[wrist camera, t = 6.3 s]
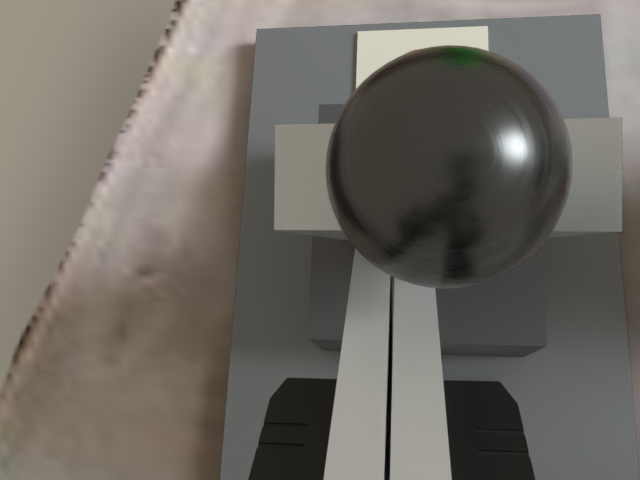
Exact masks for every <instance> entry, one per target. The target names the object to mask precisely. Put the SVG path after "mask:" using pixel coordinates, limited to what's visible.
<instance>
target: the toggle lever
mask: <svg viewBox="0 0 640 480" xmlns="http://www.w3.org/2000/svg"><path fill="white" fill-rule="evenodd" d="M274 230H278V231H285V232H292V233H299V234H306V235H312V236H319V237H326V238H333V239H340V240H349V241H350V242H351V244H352V245H353V246H354V247H355V248H356V249H357V250H358V252H359V253H360V254H361V255H362V256H364V257H365V258H366V259H367V260H368V261H369V262H370V263H372V264H373V265H374V266H376V267H377V268H379V269H380V270H382V271H383V272H385V273H387V274H389V275H391V276H393V277H395V278H397V279H399V280H402V281H405V282H408V283H411V284H414V285H419V286H424V287H429V288H441V289H448V288H463V287H469V286H474V285H478V284H482V283H485V282H488V281H491V280H494V279H496V278H498V277H500V276H502V275H505V274H507V273H508V272H510V271H512V270H513V269H515V268H516V267H518V266H520V265H521V264H522V263H523V262H525V261H526V260H527V259H528V258H530V257H531V256H532V255H533V254H534V253H535V252H536V251H537V250H538V249H539V248H540V247H541V246H542V244H543V243H544V242H545V241H546V240H547V238H552V237H564V236H576V235H588V234H600V233H611V232H622V118H582V119H564V118H563V116H562V114H561V112H560V110H559V108H558V106H557V104H556V102H555V101H554V100H553V98H552V97H551V95H550V94H549V93H548V91H547V90H546V89H545V88H544V86H543V85H542V84H541V83H540V82H539V81H538V80H537V79H536V78H535V77H534V76H533V75H531V74H530V73H529V72H528V71H526V70H525V69H524V68H523V67H521V66H519V65H518V64H516V63H514V62H513V61H511V60H510V59H508V58H505V57H503V56H501V55H498V54H496V53H494V52H490V51H487V50H483V49H480V48H475V47H468V46H456V45H444V46H435V47H428V48H424V49H420V50H415V51H413V52H410V53H407V54H404V55H402V56H399V57H398V58H396V59H394V60H392V61H390V62H388V63H386V64H385V65H383V66H382V67H380V68H379V69H377V70H376V71H374V72H373V73H372V74H371V75H370V76H369V77H367V78H366V79H365V80H364V81H363V82H362V83H361V84H360V85H359V86H358V87H357V89H356V90H355V91H354V92H353V93H352V94H351V96H350V97H349V99H348V100H347V102H346V103H345V105H344V106H343V108H342V110H341V112H340V114H339V116H338V118H337V120H336V122H335V124H287V125H275V192H274Z"/></svg>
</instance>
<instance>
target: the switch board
mask: <svg viewBox="0 0 640 480" xmlns="http://www.w3.org/2000/svg"><path fill="white" fill-rule="evenodd" d="M444 45H456V46H468V47H475V48H480V49H483V50H487V51H490V52H494V53H496V54H498V55H501V56H503V57H505V58H508V59H510V60H511V61H513V62H514V63H516V64H518V65H519V66H521V67H523V68H524V69H525V70H526V71H528V72H529V73H530V74H531V75H533V76H534V77H535V78H536V79H537V80H538V81H539V82H540V83H541V84H542V85H543V86H544V88H545V89H546V90H547V91H548V93H549V94H550V95H551V97H552V98H553V100H554V101H555V102H556V104H557V106H558V108H559V110H560V112H561V114H562V116H563V118H564V119H582V118H609V111H608V99H607V87H606V76H605V64H604V52H603V41H602V29H601V17H600V14H594V15H571V16H548V17H525V18H502V19H479V20H456V21H433V22H410V23H387V24H364V25H340V26H317V27H294V28H271V29H257V33H256V46H255V58H254V70H253V82H252V94H251V107H250V119H249V131H248V143H247V156H246V168H245V180H244V192H243V204H242V217H241V229H240V241H239V253H238V266H237V278H236V290H235V302H234V314H233V327H232V339H231V351H230V363H229V376H228V388H227V400H226V412H225V424H224V437H223V449H222V461H221V473H220V480H248V479H249V475H250V471H251V467H252V464H253V460H254V456H255V452H256V449H257V447H258V441H259V437H260V434H261V430H262V427H263V426H264V419H265V415H266V411H267V407H268V404H269V400H270V397H271V396H272V395H273V394H274V393H275V391H276V390H277V389H278V388H279V387H280V386H281V384H282V383H283V382H284V381H285V380H286V378H321V379H337V376H338V369H339V362H340V355H341V347H342V340H343V333H344V325H345V318H346V311H347V303H348V296H349V289H350V282H351V274H352V267H353V260H354V252H355V247H354V246H353V245H352V244H351V242H350V241H349V240H340V239H333V238H326V237H319V236H312V235H306V234H299V233H292V232H285V231H278V230H274V192H275V125H287V124H335V122H336V120H337V118H338V116H339V114H340V112H341V110H342V108H343V106H344V105H345V103H346V102H347V100H348V99H349V97H350V96H351V94H352V93H353V92H354V91H355V90H356V89H357V87H358V86H359V85H360V84H361V83H362V82H363V81H364V80H365V79H366V78H367V77H369V76H370V75H371V74H372V73H373V72H374V71H376V70H377V69H379V68H380V67H382V66H383V65H385V64H386V63H388V62H390V61H392V60H394V59H396V58H398V57H399V56H402V55H404V54H407V53H410V52H413V51H415V50H420V49H424V48H428V47H435V46H444ZM435 291H436V303H437V314H438V326H439V337H440V349H441V361H442V372H443V380H465V381H500V382H501V383H502V385H503V386H504V387H505V388H506V390H507V391H508V392H509V393H510V395H511V396H512V397H513V398H514V400H515V401H516V402H517V403H518V407H519V411H520V415H521V420H522V424H523V428H524V435H525V437H526V441H527V446H528V450H529V457H530V459H531V463H532V467H533V472H534V476H535V480H640V473H639V461H638V450H637V438H636V426H635V415H634V403H633V391H632V379H631V368H630V356H629V344H628V333H627V321H626V309H625V298H624V286H623V274H622V263H621V251H620V239H619V232H611V233H600V234H588V235H576V236H564V237H552V238H547V240H546V241H545V242H544V243H543V244H542V246H541V247H540V248H539V249H538V250H537V251H536V252H535V253H534V254H533V255H532V256H531V257H530V258H528V259H527V260H526V261H525V262H523V263H522V264H521V265H520V266H518V267H516V268H515V269H513V270H512V271H510V272H508V273H507V274H505V275H502V276H500V277H498V278H496V279H494V280H491V281H488V282H485V283H482V284H478V285H474V286H469V287H463V288H448V289H441V288H435ZM393 316H394V277H393V276H392V325H393ZM392 365H393V364H392ZM391 414H392V411H391ZM390 463H391V458H390Z"/></svg>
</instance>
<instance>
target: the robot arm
mask: <svg viewBox="0 0 640 480" xmlns="http://www.w3.org/2000/svg"><path fill="white" fill-rule="evenodd" d="M392 364H393V365H392ZM391 411H392V414H391ZM390 458H391V463H390ZM248 480H535V476H534V472H533V467H532V463H531V459H530V457H529V450H528V446H527V441H526V437H525V435H524V428H523V424H522V420H521V415H520V411H519V407H518V403H517V402H516V401H515V400H514V398H513V397H512V396H511V395H510V393H509V392H508V391H507V390H506V388H505V387H504V386H503V385H502V383H501V382H500V381H465V380H443V372H442V361H441V349H440V337H439V326H438V314H437V303H436V291H435V288H429V287H424V286H419V285H414V284H411V283H408V282H405V281H402V280H399V279H397V278H395V277H394V316H393V325H392V276H391V275H389V274H387V273H385V272H383V271H382V270H380V269H379V268H377V267H376V266H374V265H373V264H372V263H370V262H369V261H368V260H367V259H366V258H365V257H364V256H362V255H361V254H360V253H359V252H358V250H357V249H356V248H355V252H354V260H353V267H352V274H351V282H350V289H349V296H348V303H347V311H346V318H345V325H344V333H343V340H342V347H341V355H340V362H339V369H338V376H337V379H321V378H286V380H285V381H284V382H283V383H282V384H281V386H280V387H279V388H278V389H277V390H276V391H275V393H274V394H273V395H272V396H271V397H270V400H269V404H268V407H267V411H266V415H265V419H264V426H263V427H262V430H261V434H260V437H259V441H258V447H257V449H256V452H255V456H254V460H253V464H252V467H251V471H250V475H249V479H248Z"/></svg>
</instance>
